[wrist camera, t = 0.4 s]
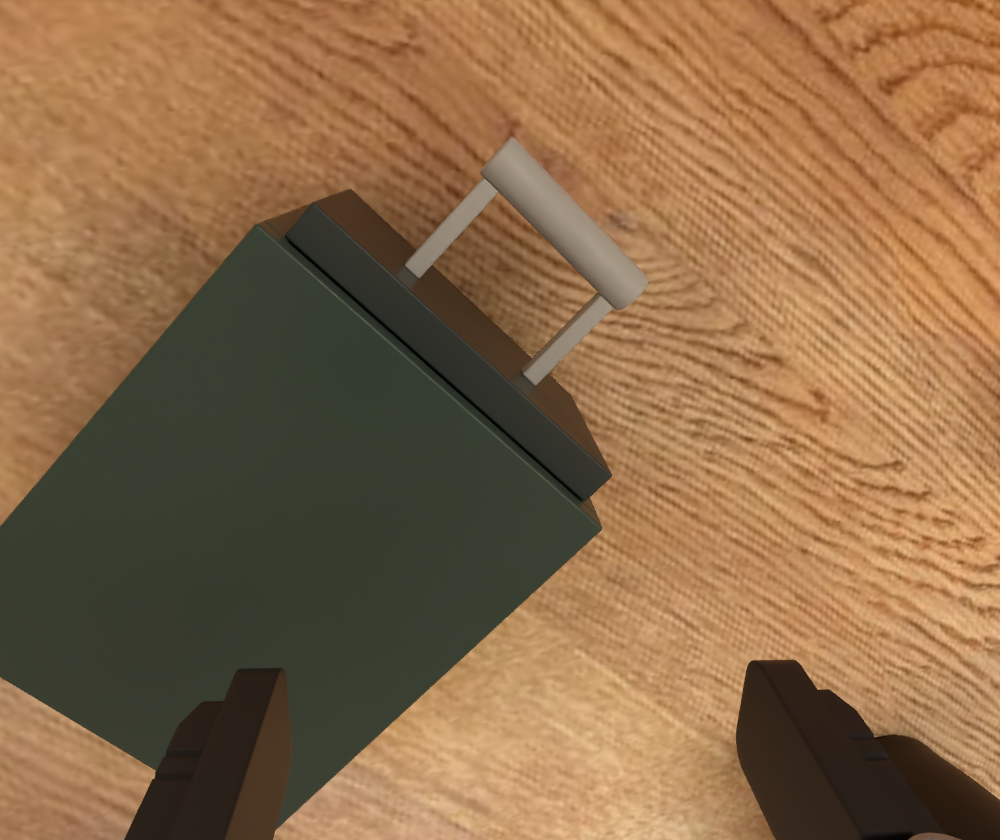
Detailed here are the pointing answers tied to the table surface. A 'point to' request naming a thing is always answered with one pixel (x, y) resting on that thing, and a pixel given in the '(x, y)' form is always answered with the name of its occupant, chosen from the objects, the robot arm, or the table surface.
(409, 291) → the drawer
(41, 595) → the cabinet
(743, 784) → the table surface
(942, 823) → the mug
